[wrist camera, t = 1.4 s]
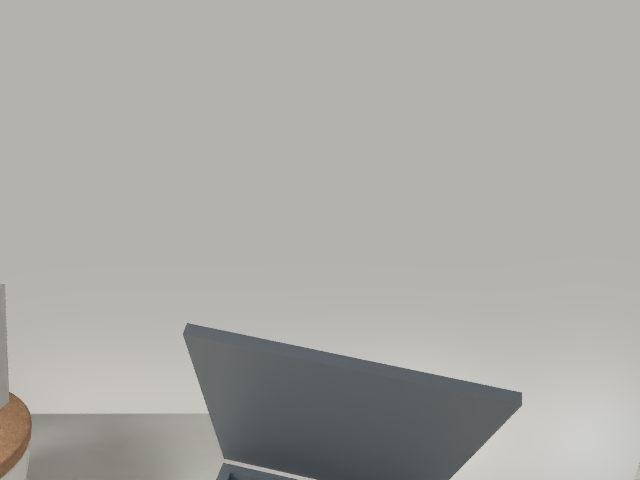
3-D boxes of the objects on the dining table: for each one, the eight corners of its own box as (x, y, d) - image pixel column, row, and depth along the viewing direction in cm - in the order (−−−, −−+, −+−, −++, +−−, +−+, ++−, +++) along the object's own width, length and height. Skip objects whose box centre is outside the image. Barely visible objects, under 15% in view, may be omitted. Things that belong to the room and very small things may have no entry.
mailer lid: (224, 458, 45) (226, 449, 45) (425, 504, 44) (426, 494, 44) (182, 334, 27) (187, 321, 27) (521, 405, 26) (521, 390, 26)
